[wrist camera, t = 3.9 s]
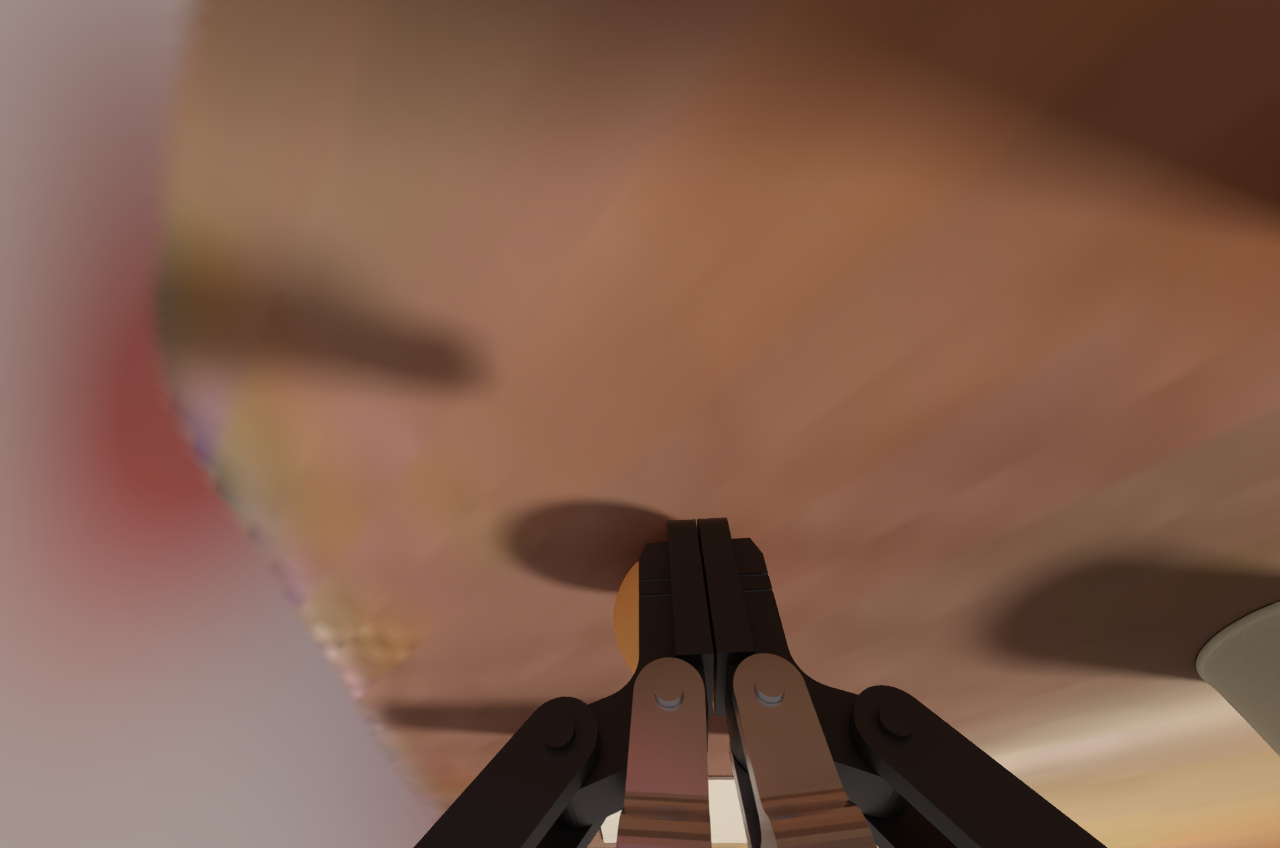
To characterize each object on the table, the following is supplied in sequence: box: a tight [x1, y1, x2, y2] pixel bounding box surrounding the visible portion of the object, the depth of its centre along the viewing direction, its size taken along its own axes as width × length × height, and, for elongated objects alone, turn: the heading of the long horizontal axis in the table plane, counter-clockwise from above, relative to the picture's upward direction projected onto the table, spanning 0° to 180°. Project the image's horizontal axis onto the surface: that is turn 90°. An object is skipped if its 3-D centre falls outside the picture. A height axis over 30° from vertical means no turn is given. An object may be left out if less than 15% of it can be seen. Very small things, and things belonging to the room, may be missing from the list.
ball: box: [614, 561, 639, 674], centre depth 21 cm, size 6×6×6 cm
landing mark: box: [601, 777, 747, 843], centre depth 40 cm, size 13×13×1 cm
